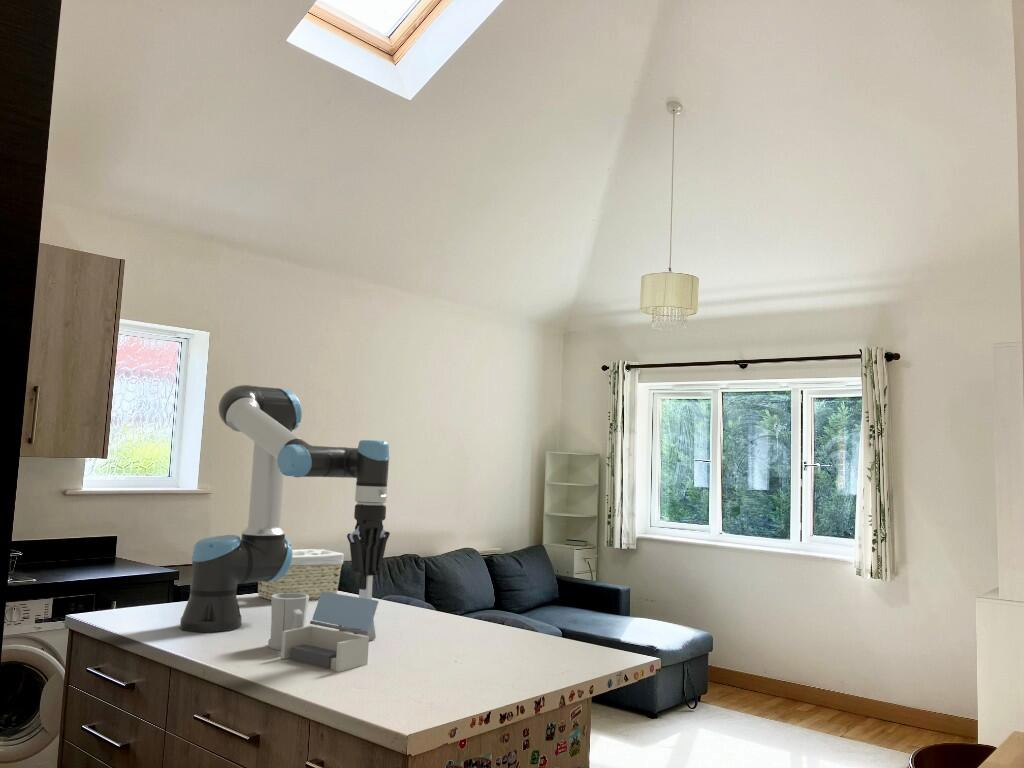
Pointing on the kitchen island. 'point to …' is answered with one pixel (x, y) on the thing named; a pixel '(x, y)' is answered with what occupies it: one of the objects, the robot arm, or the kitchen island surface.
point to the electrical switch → (370, 633)
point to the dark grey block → (314, 656)
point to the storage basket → (307, 575)
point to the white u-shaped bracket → (329, 644)
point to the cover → (345, 612)
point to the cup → (286, 615)
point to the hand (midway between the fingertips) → (365, 602)
